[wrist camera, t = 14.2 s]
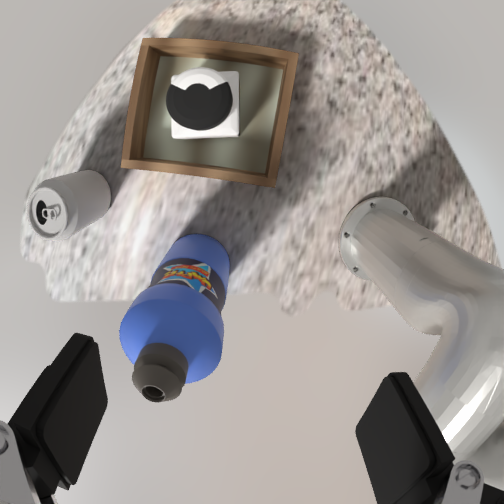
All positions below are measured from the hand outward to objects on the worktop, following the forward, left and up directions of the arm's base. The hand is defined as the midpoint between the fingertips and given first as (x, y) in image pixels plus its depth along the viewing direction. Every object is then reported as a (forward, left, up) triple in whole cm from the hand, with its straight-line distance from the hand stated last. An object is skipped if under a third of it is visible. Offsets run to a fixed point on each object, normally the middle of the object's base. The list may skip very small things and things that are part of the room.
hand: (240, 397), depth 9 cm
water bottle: (+5, +10, -34) cm, 35 cm away
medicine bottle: (+6, -11, -33) cm, 35 cm away
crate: (+6, -11, -33) cm, 36 cm away
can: (+22, +2, -34) cm, 40 cm away
